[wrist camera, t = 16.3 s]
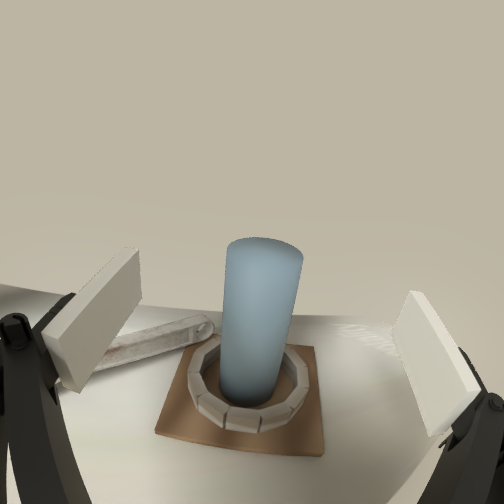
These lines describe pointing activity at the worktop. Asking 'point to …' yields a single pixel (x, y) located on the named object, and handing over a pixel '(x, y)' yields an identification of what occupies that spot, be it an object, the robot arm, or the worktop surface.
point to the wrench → (155, 341)
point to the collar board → (244, 418)
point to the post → (256, 317)
